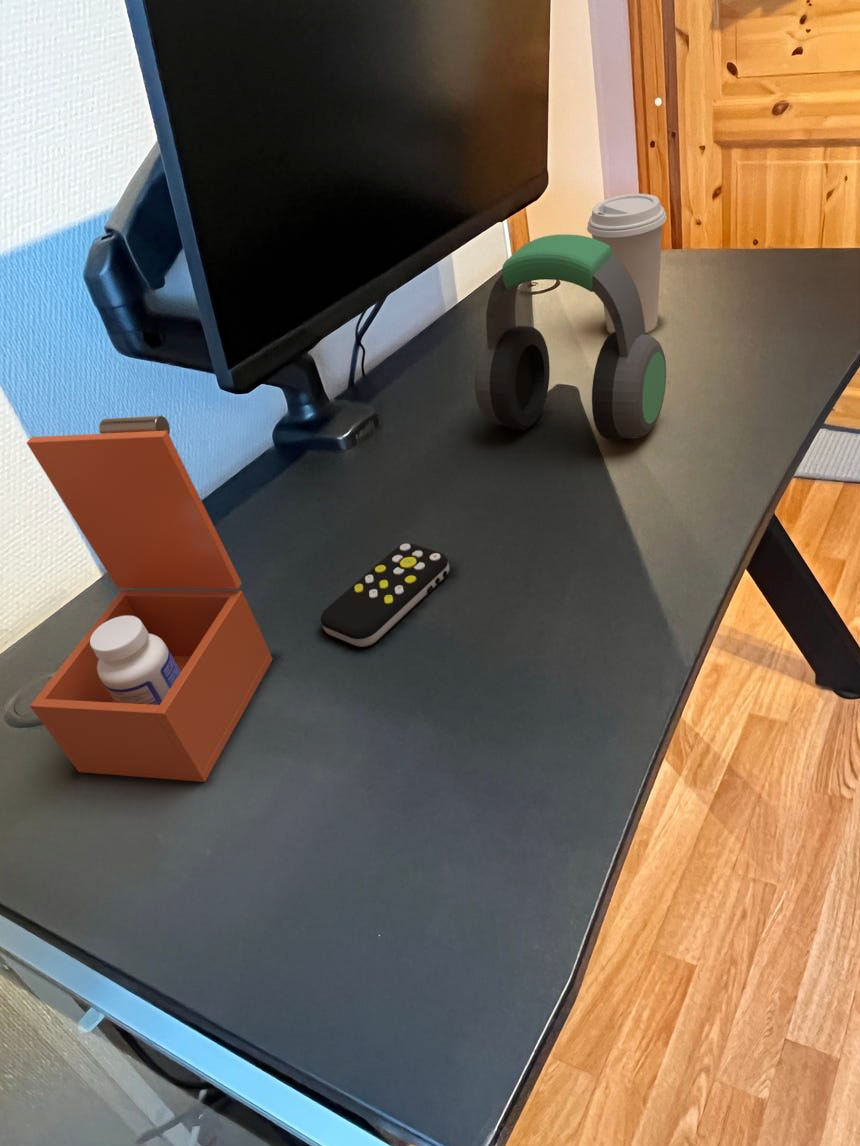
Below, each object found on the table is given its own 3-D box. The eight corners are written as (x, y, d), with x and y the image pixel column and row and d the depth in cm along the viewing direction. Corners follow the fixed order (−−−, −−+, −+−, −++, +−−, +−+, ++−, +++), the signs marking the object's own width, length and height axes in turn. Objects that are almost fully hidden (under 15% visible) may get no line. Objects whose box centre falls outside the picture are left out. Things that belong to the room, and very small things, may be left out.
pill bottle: (173, 687, 74) (123, 600, 68) (213, 708, 72) (165, 619, 65) (122, 729, 72) (65, 643, 65) (162, 753, 69) (106, 665, 62)
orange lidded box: (205, 782, 67) (163, 713, 62) (78, 772, 70) (29, 705, 65) (273, 659, 76) (242, 590, 71) (159, 655, 79) (121, 589, 74)
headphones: (672, 410, 96) (668, 221, 83) (638, 462, 90) (627, 265, 77) (519, 397, 105) (493, 223, 92) (477, 444, 98) (443, 263, 85)
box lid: (162, 436, 61) (195, 395, 64) (25, 442, 64) (64, 403, 67) (238, 589, 71) (263, 546, 74) (117, 588, 74) (146, 547, 77)
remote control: (317, 632, 78) (311, 615, 77) (407, 553, 85) (403, 536, 83) (367, 653, 75) (361, 636, 73) (457, 569, 81) (453, 552, 80)
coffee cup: (589, 319, 118) (578, 202, 108) (658, 305, 118) (654, 186, 108) (604, 348, 111) (594, 224, 101) (678, 332, 111) (675, 207, 101)
